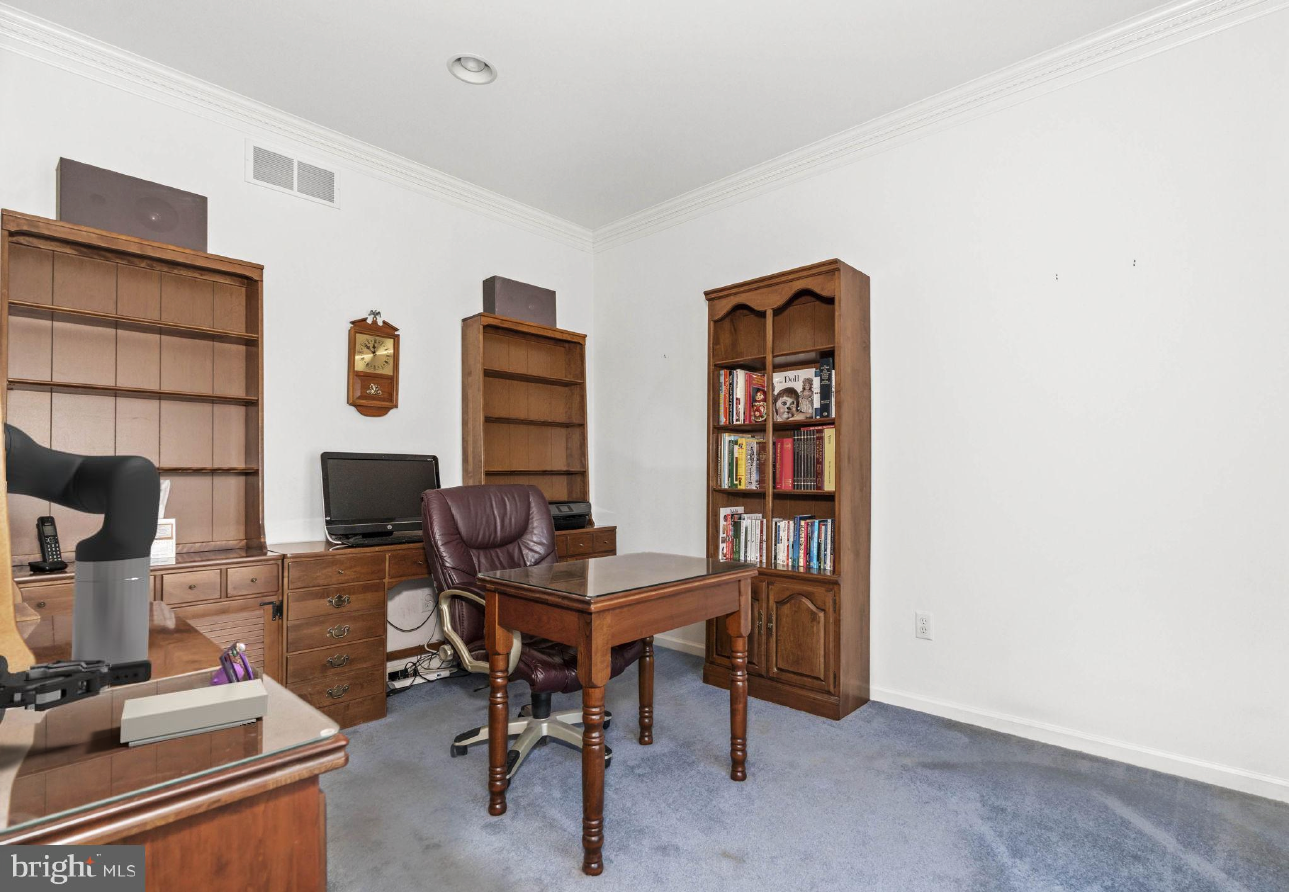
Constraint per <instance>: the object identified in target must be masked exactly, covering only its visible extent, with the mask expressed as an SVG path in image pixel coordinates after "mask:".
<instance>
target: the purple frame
mask: <svg viewBox="0 0 1289 892" xmlns="http://www.w3.org/2000/svg"><path fill="white" fill-rule="evenodd" d="M245 649H246V645H245V644H244V643H242V642H241V643H240V642H239V641H238V640H237V641H235V642H234V643H232V644H231V645H230V646H229V647H228V648H227V649H226V650H225V651H224V652H223V653H222V654H221V655H220V656H219V657H218V659H219V662H220V663H221V666H220V667H219V668H218V669H217V670H216V672H214V674H213V675H212V677H211V680H210V687H212V686H218V685H224V684H231V683H237V682H241V679H242V678H243V677H244V675H245V673H246V676H247V677H248V681H250V680H254V676H253V671H252V668H251V666H250V662H249V660H248V658H247V656H245V655H244V651H245ZM230 652H231V655H232V657H233V658H234V659H236V657H237V656H239V657H240V660H241V662H242V664H241V663H239V662H237V661H236V660H233V659H232V657H231V655H230ZM244 671H245V672H244Z"/></svg>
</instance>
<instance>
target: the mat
mask: <svg viewBox="0 0 1289 892" xmlns="http://www.w3.org/2000/svg"><path fill="white" fill-rule="evenodd" d="M251 722H256V723H257V719H256V718H251V719H245V720H240V721H235V722H229V723H224V724H219V725H213V726H208V727H203V728H197V729H192V730H187V731H181V732H176V733H171V734H166V735H160V736H155V737H150V738H144V739H139V740H134V741H128V747H129V748H131V747H135V746H140V745H146V744H151V743H156V742H162V741H166V740H167V741H168V740H172V739H178V738H183V737H187V736H193V735H198V734H203V733H209V732H214V731H219V730H225V729H230V728H234V727H240V725H241V726H243V725H242V724H246V725H248V724H247V723H251ZM251 724H252V723H251Z"/></svg>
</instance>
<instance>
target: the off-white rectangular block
mask: <svg viewBox="0 0 1289 892" xmlns="http://www.w3.org/2000/svg"><path fill="white" fill-rule="evenodd" d="M266 716H268V692H267V690H266V688H265V686H264V684H263V681H262V679H261V678H257V679H253V680H250V681H249V680H244V681H240V682H237V683H231V684H224V685H218V686H212V687H211V686H206V687H200V688H195V689H188V690H181V691H175V692H170V693H162V694H157V695H149V696H144V697H137V698H133V699H132V698H130V699H125V700H124V706H123V710H122V715H121V719H120V743H121V744H123V743H129V742H130V741H134V740H139V739H144V738H150V737H155V736H160V735H166V734H171V733H176V732H181V731H187V730H192V729H197V728H203V727H208V726H213V725H219V724H224V723H229V722H235V721H240V720H245V719H251V718H255V719H256V718H261V717H266Z"/></svg>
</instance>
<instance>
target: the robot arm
mask: <svg viewBox="0 0 1289 892" xmlns="http://www.w3.org/2000/svg"><path fill="white" fill-rule="evenodd" d="M3 422H4V434H5V451H6V481H7V493H6V494H11V495H22V496H27V497H33V498H36V499H39V500H43V501H46V502H49V503H52V504H54V505H55V504H56V505H59V506H61V507H65V508H67V509H71V510H74V511H76V512H77V511H78V512H80V513H84V514H85V513H86V514H90V515H103V522H102V526H101V528H100V529H99V530H98V531H97V532H96V533H95V534H92V535H91V536H89V537H86V538H84V539H81V540H79V541H78V542H77V543H76V546H75V550H74V576H73V577H74V578H73V579H74V582H73V584H74V585H73V606H72V607H73V611H72V634H71V635H72V638H71V639H72V640H71V659H64V660H62V659H58V660H57V659H56V660H55V661H52V662H51V663H50V662H46V663H38V664H32V665H30V666H29V669H28V670H23V671H22V670H21V671H17V672H10V671H9V670H8V669H9V662H8V659H7V658H6V657H5V656H4V655H2V654H0V725H1V724H2V723H3V720H4V717H5V714H6V710H7V709H11V708H12V709H13V708H14V709H15V708H16V709H17V708H23V707H24V708H23V709H24V710H25V711H29V710H30V711H31V710H34V712H39V713H40V712H45V711H47V710H51V709H54V708H58V707H61V706H65V705H68V704H71V703H75V702H77V701H82V700H85V699H88V698H92V697H96V696H98V695H100V693H101V692H105V691H106V690H109V688H112V687H113V688H114V687H118V686H119V687H120V686H126V685H133V684H140V683H146V682H149V681H150V680H151V678H152V672H153V671H152V670H153V669H152V666H153V665H152V661H151V660H150V659H148V658H149V656H148V655H149V637H150V636H149V633H150V632H149V631H150V629H149V628H150V600H151V599H150V595H151V562H152V561H151V558H152V557H151V556H152V555H151V554H152V546H153V543H154V542H155V540H156V539H155V538H156V536H157V532H158V525H159V524H158V523H159V513H160V504H161V503H160V501H161V490H162V489H161V477H160V474H159V470H158V468H157V467H156V465H155V464H154V462H153V461H152V460H151V459H149V458H147V457H145V456H141V455H134V454H133V455H132V454H130V455H129V454H126V455H116V454H115V455H88V454H87V455H85V454H78V453H71V452H67V451H61V450H57V449H53V448H49V447H46V446H43V445H41V444H39V443H37V441H36V440H34V439H33V438H32V437H31V436H30V435H28V433H26V432H25V431H23V430H22V429H20V428H18V427H17V426H14V425H12V424H9V423H8V422H6V421H3Z"/></svg>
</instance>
